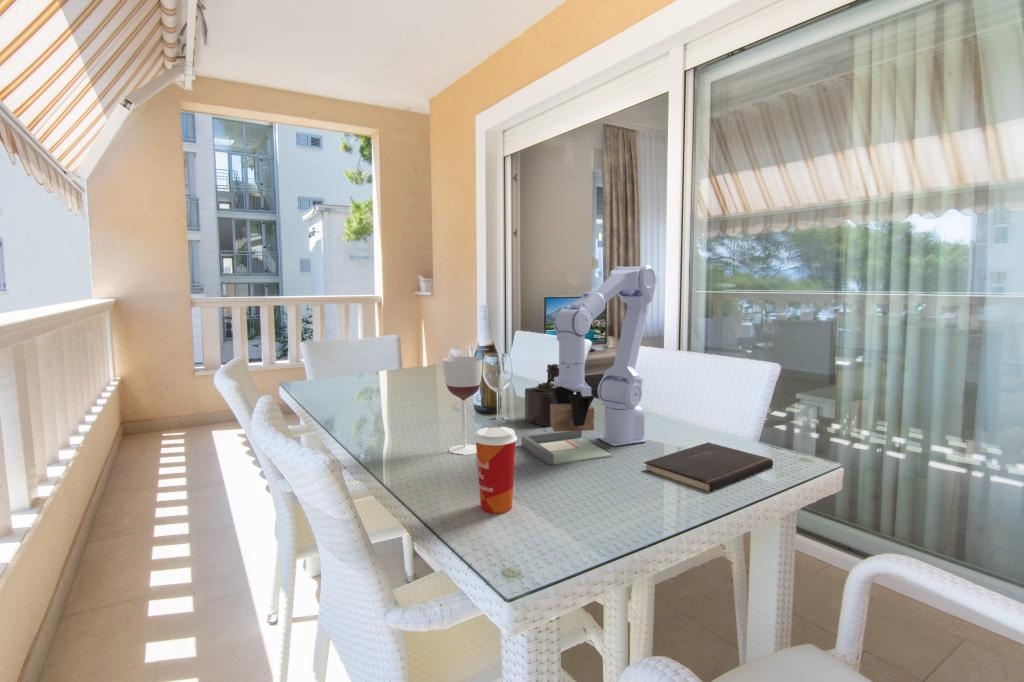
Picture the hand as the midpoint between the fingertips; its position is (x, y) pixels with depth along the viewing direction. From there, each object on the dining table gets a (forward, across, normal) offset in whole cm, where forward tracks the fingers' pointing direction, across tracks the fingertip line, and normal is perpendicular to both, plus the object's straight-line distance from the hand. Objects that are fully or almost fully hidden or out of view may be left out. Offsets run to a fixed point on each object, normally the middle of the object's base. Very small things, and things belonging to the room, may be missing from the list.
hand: (571, 421), depth 126 cm
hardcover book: (+9, +18, +24) cm, 31 cm away
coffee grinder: (+9, -29, +9) cm, 31 cm away
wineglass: (+9, -15, -21) cm, 27 cm away
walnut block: (+1, 0, 0) cm, 1 cm away
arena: (+8, -5, +1) cm, 10 cm away
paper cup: (+8, +20, -25) cm, 33 cm away
